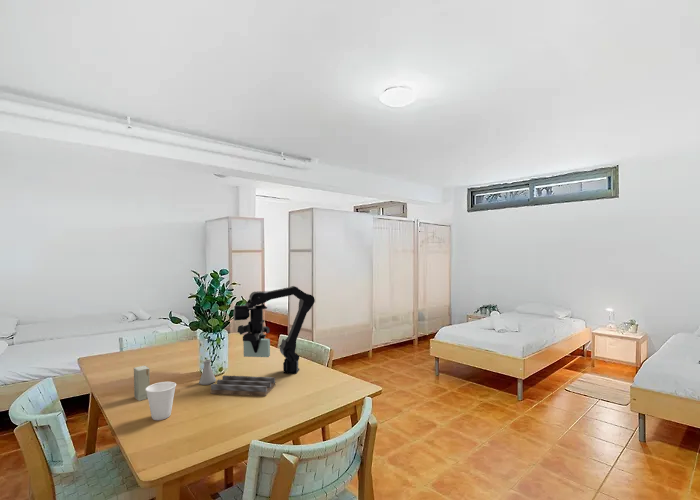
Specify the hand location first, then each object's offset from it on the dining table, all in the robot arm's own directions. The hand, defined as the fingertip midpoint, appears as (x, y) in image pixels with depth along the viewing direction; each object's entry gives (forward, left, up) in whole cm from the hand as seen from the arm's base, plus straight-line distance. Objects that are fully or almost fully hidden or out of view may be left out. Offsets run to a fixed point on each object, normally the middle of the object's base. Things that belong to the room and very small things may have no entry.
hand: (256, 351), depth 172 cm
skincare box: (+38, +28, -12) cm, 49 cm away
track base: (0, +15, -12) cm, 19 cm away
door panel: (0, 0, -2) cm, 2 cm away
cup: (+19, +43, -12) cm, 49 cm away
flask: (+20, +9, -12) cm, 25 cm away
